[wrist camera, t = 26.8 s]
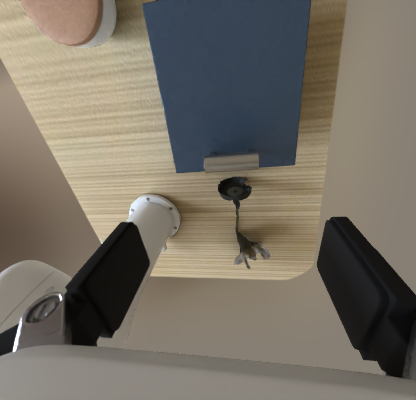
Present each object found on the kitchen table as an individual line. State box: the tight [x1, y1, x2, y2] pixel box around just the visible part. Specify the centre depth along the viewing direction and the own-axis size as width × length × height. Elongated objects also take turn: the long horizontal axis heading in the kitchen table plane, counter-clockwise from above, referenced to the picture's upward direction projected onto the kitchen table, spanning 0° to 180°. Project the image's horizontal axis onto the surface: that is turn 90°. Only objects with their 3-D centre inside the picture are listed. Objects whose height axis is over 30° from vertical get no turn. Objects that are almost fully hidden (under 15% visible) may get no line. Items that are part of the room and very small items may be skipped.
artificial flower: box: [218, 177, 270, 269], centre depth 43 cm, size 9×22×10 cm, turn 9°
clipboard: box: [142, 0, 311, 173], centre depth 19 cm, size 16×15×5 cm
